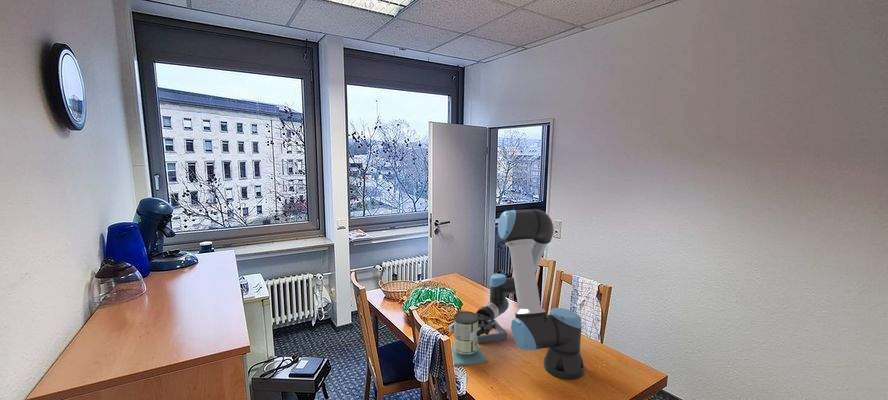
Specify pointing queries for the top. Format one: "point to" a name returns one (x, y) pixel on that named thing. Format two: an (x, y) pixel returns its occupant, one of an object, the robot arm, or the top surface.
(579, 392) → the top surface
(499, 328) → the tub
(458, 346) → the coffee can
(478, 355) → the board
